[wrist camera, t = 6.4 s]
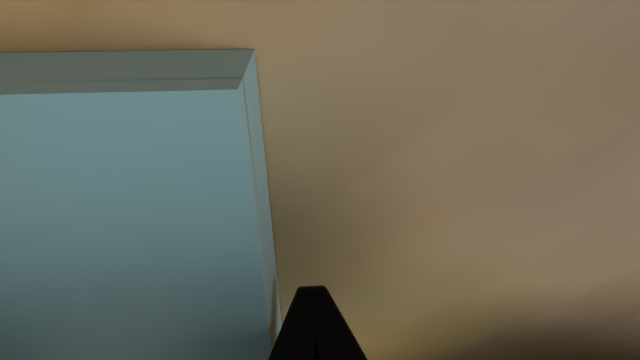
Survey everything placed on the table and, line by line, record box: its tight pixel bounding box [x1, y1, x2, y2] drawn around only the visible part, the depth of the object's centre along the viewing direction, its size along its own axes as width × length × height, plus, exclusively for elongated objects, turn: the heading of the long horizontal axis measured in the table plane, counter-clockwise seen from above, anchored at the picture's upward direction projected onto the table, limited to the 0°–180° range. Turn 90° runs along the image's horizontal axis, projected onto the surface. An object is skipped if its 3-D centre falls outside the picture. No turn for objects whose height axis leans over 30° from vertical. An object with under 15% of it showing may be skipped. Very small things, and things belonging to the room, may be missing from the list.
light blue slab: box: [0, 49, 282, 360], centre depth 8 cm, size 10×12×2 cm
